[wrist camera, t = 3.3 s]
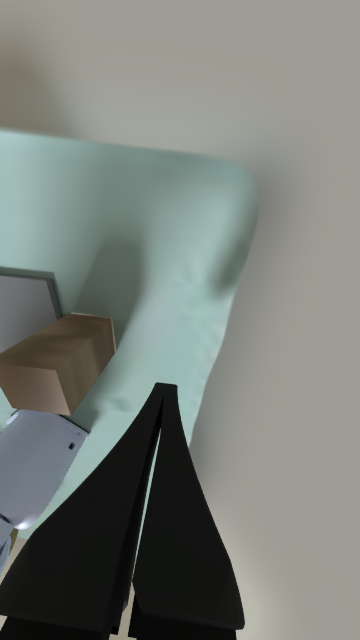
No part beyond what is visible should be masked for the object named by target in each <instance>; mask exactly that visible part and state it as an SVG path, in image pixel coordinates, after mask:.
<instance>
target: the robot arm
mask: <svg viewBox="0 0 360 640" xmlns="http://www.w3.org/2000/svg"><path fill="white" fill-rule="evenodd" d="M177 387H178V386H177V385H174V384H166V383H158V382H157V383H155V385H154V388H153V390H152V392H151V394H150V395H149V397H148V399H147V401H146V402H145V404H144V406H143V407H142V409H141V410H140V412H139V414H138V415H137V417H136V418H135V419H134V421H133V422H132V424H131V425H130V426H129V428H128V429H127V431H126V432H125V433H124V435H123V436H122V437H121V439H120V440H119V441H118V442H117V444H116V445H115V446H114V447H113V449H112V450H111V451H110V452H109V453H108V455H107V456H106V457H105V458H104V459H103V460H102V462H101V463H100V464H99V465H98V466H97V467H96V468H95V470H94V471H93V472H92V473H91V474H90V475H89V476H88V477H87V478H86V479H85V480H84V481H83V482H82V484H81V485H80V486H79V487H78V488H77V489H76V490H75V491H74V492H73V493H72V494H71V495H70V496H69V497H68V498H67V499H66V500H65V501H64V502H63V503H62V504H61V505H60V506H59V507H58V508H57V509H56V510H55V511H54V512H53V513H52V514H51V515H50V516H49V517H48V518H47V519H46V520H45V521H44V522H43V523H42V524H41V525H40V526H39V527H38V528H37V529H36V530H35V531H34V532H33V533H32V535H31V536H30V538H29V539H28V540H27V542H26V543H25V545H24V546H23V548H22V549H21V551H20V553H19V554H18V556H17V557H16V559H15V560H14V562H13V564H12V565H11V567H10V569H9V570H8V572H7V574H6V576H5V577H4V579H3V581H2V583H1V585H0V615H3V616H8V617H7V619H6V621H5V623H4V625H3V627H2V629H1V631H0V640H109V636H110V634H115V635H118V631H119V626H120V621H121V616H122V612H123V611H124V609H125V608H126V607H127V605H128V599H129V593H130V587H131V581H132V583H133V587H134V591H135V595H134V601H133V607H132V613H131V619H130V626H129V632H128V637H132V638H137V640H237V639H236V630H239V629H243V628H244V625H245V620H244V613H243V607H242V602H241V598H240V593H239V589H238V586H237V582H236V579H235V575H234V572H233V568H232V564H231V561H230V558H229V556H228V553H227V551H226V549H225V546H224V544H223V542H222V539H221V537H220V534H219V532H218V530H217V527H216V525H215V523H214V520H213V517H212V515H211V512H210V510H209V508H208V505H207V502H206V500H205V497H204V494H203V491H202V489H201V486H200V483H199V480H198V478H197V475H196V472H195V469H194V466H193V462H192V459H191V456H190V453H189V449H188V446H187V442H186V438H185V434H184V430H183V426H182V421H181V416H180V411H179V404H178V394H177ZM6 422H7V423H8V424H9V425H8V426H7V427H6V428H5V429H4V430H3V431H2V432H1V433H0V575H1V573H2V571H3V569H4V566H5V564H6V562H7V559H8V556H9V551H10V545H11V537H10V536H9V535H10V534H11V532H12V530H13V529H14V528H16V529H20V530H24V529H27V528H28V527H30V526H31V525H32V524H33V523H34V522H35V521H36V520H37V519H38V518H39V516H40V515H41V514H42V513H43V511H44V510H45V508H46V507H47V506H48V504H49V503H50V501H51V500H52V498H53V496H54V495H55V493H56V491H57V490H58V488H59V486H60V484H61V482H62V481H63V479H64V477H65V475H66V473H67V471H68V470H69V468H70V466H71V464H72V462H73V460H74V459H75V457H76V455H77V453H78V451H79V449H80V448H81V446H82V444H83V442H84V440H85V439H87V438H88V436H89V434H88V433H87V432H85V431H84V430H82V429H80V428H79V427H77V426H76V425H74V424H72V423H71V422H69V421H68V420H66V419H64V418H63V417H61V416H59V415H58V414H54V413H46V412H39V411H31V410H24V409H20V410H19V411H17V412H16V413H15V414H14V415H13V416H11V417H10V418H9V419H8V420H7V421H6ZM160 429H161V433H160ZM159 433H160V440H159V446H158V451H157V456H156V462H155V467H154V472H153V478H152V483H151V488H150V493H149V499H148V504H147V509H146V514H145V519H144V524H143V529H142V534H141V539H140V544H139V549H138V554H137V559H136V564H135V569H134V562H135V557H136V551H137V545H138V539H139V533H140V527H141V521H142V515H143V510H144V504H145V498H146V492H147V487H148V481H149V475H150V471H151V466H152V462H153V458H154V454H155V449H156V445H157V441H158V437H159ZM133 569H134V574H133ZM132 575H133V579H132Z"/></svg>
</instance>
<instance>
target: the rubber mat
mask: <svg viewBox="0 0 360 640" xmlns="http://www.w3.org/2000/svg"><path fill="white" fill-rule="evenodd" d="M60 318H62V317H61V313H60V309H59V305H58V301H57V298H56V294H55V290H54V286H53V282H52V279H43V278H34V277H25V276H15V275H6V274H0V353H2V352H3V351H5V350H7V349H9V348H10V347H12V346H14V345H16V344H17V343H19V342H21V341H22V340H24V339H26V338H28V337H29V336H31V335H33V334H34V333H36V332H38V331H40V330H41V329H43V328H45V327H47V326H48V325H50V324H52V323H53V322H55V321H57V320H59V319H60Z"/></svg>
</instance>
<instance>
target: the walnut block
mask: <svg viewBox="0 0 360 640" xmlns="http://www.w3.org/2000/svg"><path fill="white" fill-rule="evenodd" d="M115 352H116V344H115V335H114V326H113V317H108V316H100V315H91V314H82V313H73V312H71V313H69V314H67V315H66V316H64V317H62V318H60V319H59V320H57V321H55V322H53V323H52V324H50V325H48V326H47V327H45V328H43V329H41V330H40V331H38V332H36V333H34V334H33V335H31V336H29V337H28V338H26V339H24V340H22V341H21V342H19V343H17V344H16V345H14V346H12V347H10V348H9V349H7V350H5V351H3V352H2V353H0V387H1V389H2V390H3V392H4V394H5V396H6V397H7V399H8V401H9V403H10V404H11V406H12V408H16V409H24V410H31V411H39V412H46V413H54V414H62V415H69V416H71V415H72V413H73V412H74V411H75V409H76V408H77V406H78V405H79V403H80V402H81V401H82V399H83V398H84V396H85V395H86V393H87V392H88V391H89V389H90V388H91V386H92V385H93V383H94V382H95V381H96V379H97V378H98V376H99V375H100V374H101V372H102V371H103V369H104V368H105V366H106V365H107V364H108V362H109V361H110V359H111V358H112V356H113V355H114V354H115Z"/></svg>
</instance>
